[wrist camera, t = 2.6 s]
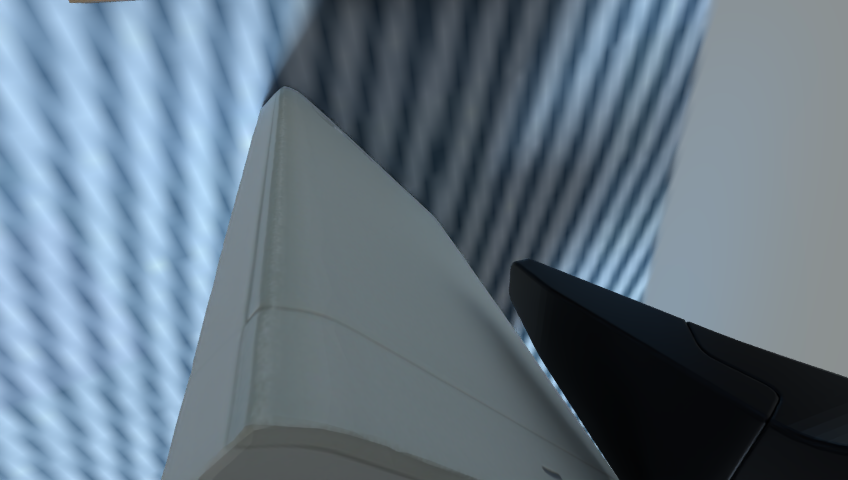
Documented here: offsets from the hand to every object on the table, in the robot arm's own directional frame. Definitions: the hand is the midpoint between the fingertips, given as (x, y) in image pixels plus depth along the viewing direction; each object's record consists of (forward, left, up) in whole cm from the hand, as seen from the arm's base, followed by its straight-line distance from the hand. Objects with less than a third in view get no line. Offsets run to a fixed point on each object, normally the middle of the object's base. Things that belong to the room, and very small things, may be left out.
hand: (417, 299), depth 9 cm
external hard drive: (0, 0, -8) cm, 8 cm away
